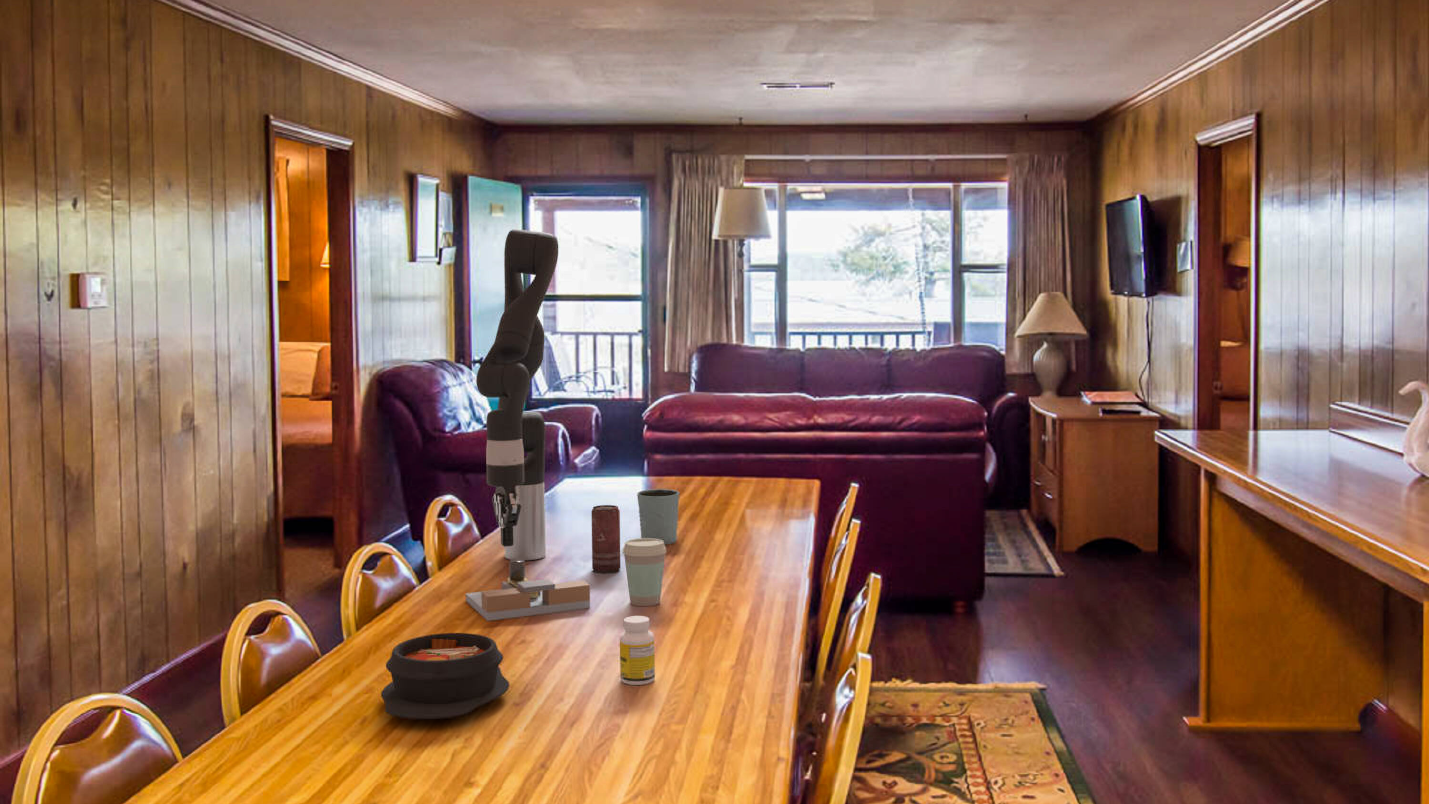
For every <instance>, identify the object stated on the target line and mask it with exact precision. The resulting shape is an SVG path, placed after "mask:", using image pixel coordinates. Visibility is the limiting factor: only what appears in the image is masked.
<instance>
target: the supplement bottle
mask: <svg viewBox="0 0 1429 804" xmlns="http://www.w3.org/2000/svg"><path fill="white" fill-rule="evenodd" d="M650 626H651V625H650V618H649V617H648V616H645V615H632V616H627V617H625V618H624V619H623V629H624V630H625V631H623V632H622V633H621V634H620V635H619V665H620V667H619V669H620V670H619V673H620V674H619V675H620V681H621V682H622V683H624V684H625V685H628V686H629V685H630V686H643V685H648V684H651V683H652V682H654V681H655V678H656V677H655V676H656V663H655V662H656V661H655V659H656V658H655V657H656V655H655V635H654V633H653V632H652V631H651V630H649V629H650Z"/></svg>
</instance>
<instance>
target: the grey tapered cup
mask: <svg viewBox="0 0 1429 804" xmlns="http://www.w3.org/2000/svg"><path fill="white" fill-rule="evenodd" d="M636 496H637V505H638V514H639V523H640V524H639V526H640V538H652V539H659V540H662V541H663V542H664V545H670V544H675V543H677V538H678V531H677V530H678V520H679V519H678V516H679V501H680V500H679V499H680V492H679V491H678V490H675V489H668V488H653V489H652V488H651V489H646V490H641V491H638V492H637V493H636Z"/></svg>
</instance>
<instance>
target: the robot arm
mask: <svg viewBox="0 0 1429 804" xmlns="http://www.w3.org/2000/svg"><path fill="white" fill-rule="evenodd" d="M503 257H504V258H503V262H504V264H503V265H504V267H503V268H504V270H503V271H504V308H503V309H504V310H503V313H502V315H501V316H500V320H499V323H498V327H497V332H496V334H495V335H496V336H495V338H494V339H495V340H494V342H493V344H492V346H490V349H489V350H488V351H487V352H488V353H487V354H486V356H485V358H483V361H482V362H481V364H480V366H479V367H478V370H477V373H476V380H475V383H476V388H477V390H478V392H479V393H480V395H481V396H483V397H485V398H492V399H493V398H494V399H495V398H498V404H497V408H496V409H492V410H491V411H489V412H488V413H487V415H486V448H485V449H486V452H485V455H486V456H485V457H486V458H485V459H486V484H487V485H488V486H491V487H495V493H494V494H493V496H492V497H491V501H492V506H493V510H494V511H493V512H494V516H495V518H496V519H495V521H496V523H498V526H499V528H500V545H502V547H504V558H505V559H507V560H509V561H511V560H524V561H532V560H533V561H534V560H539V559H543V558H545V557H546V556H547V554H546V550H547V548H546V509H545V508H546V504H545V502H546V500H545V499H546V498H545V471H546V469H545V466H546V463H545V461H546V460H545V453H546V423H545V419H544V416H543V414H542V413H541V412H539V411H524V410H525V404H526V400H527V396H528V394H529V393H528V392H529V388H530V384H531V383H530V382H531V380H532V379H533V378H534V376H535V375H536V373H537V372H538V371H539V370H540V367H541V366H542V363H543V360H544V351H545V337H546V336H545V335H546V334H545V330H544V326H543V324H542V322H541V321H540V317H538V315H539V312H540V309H541V308H542V304H543V302H544V299H545V298H546V294H547V292H548V289H549V287H550V284H551V282H552V279H553V276H554V273H555V272H556V268H557V263H558V258H559V241H558V237H557V236H556V235H555V234H551V233H548V232H543V231H542V232H540V231H536V230H535V231H534V230H528V229H527V230H526V229H518V228H517V229H515V228H514V229H510V230H509V232H508V233H507V235H506V238H505V244H504V254H503ZM522 274H526V275H532V276H534V278H533V279H532V282H530V284H529V285H528V286H527V288H525V289H524V284H523V279H522ZM525 453H527V455H526V457H525Z"/></svg>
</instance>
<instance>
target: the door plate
mask: <svg viewBox="0 0 1429 804" xmlns="http://www.w3.org/2000/svg"><path fill="white" fill-rule="evenodd" d="M527 579H528V580H529V581H527V582H518V583H517V588H514V587H512V586H511V585H510V584H509V583H507V581H502V582H501V589H495V590H487V591H486V590H484V591H476V592H468V593H467V592H465V602H467V603H468V604H469V605H470V606H471V607H472V608H473V609H474V610H475V611H477V613H478V614H479V615H480V616H482V617H483V618H484V619H485V620H486V621H489V622H490V621H495V620H496V621H497V620H505V619H512V618H514V619H515V618H521V617H528V616H529V617H531V616H537V615H544V614H545V615H546V614H552V613H560V612H561V613H562V612H568V611H569V612H570V611H576V610H577V611H578V610H584V609H585V610H586V609H590V608H591V596H590V595H591V590H590V589H591V588H590V587H591V586H590V584H589V583H588V582H586V581H584V580H576V581H567V582H555V583H554V582H553V581H551V580H550V579H547V578H544V579H537V580H530V579H529V578H527ZM536 591H538V597H536V598H530V592H536Z"/></svg>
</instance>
